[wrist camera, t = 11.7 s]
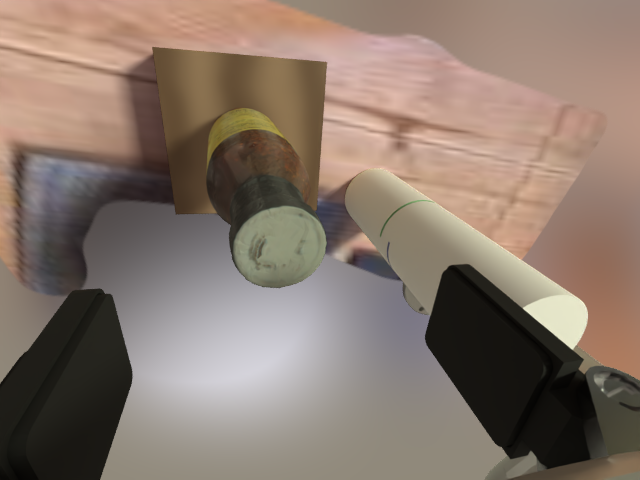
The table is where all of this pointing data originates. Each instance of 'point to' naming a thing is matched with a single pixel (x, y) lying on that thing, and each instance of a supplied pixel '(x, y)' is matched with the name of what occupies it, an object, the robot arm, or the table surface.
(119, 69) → the table surface
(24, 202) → the table surface
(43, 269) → the table surface
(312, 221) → the sauce bottle
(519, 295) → the cylindrical container
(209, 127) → the walnut plinth
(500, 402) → the robot arm
